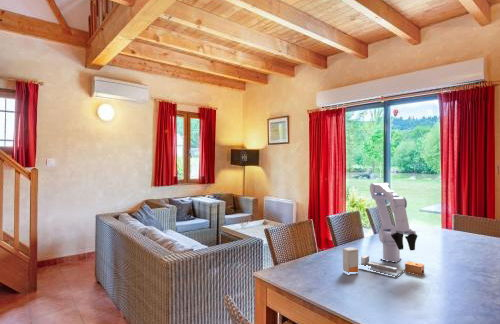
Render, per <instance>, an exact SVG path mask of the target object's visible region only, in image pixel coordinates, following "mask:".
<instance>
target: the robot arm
mask: <svg viewBox="0 0 500 324" xmlns="http://www.w3.org/2000/svg"><path fill="white" fill-rule="evenodd" d="M369 192H370V196H371V198H372V199H373V200H374V202H375V205H376V207H377V211H378V214H379V219H380V223H381V225H382V226H381V227H380V228H379V229H378V238H379V241H380V242H381V244H382V258H383V259H385V260H388V261H394V262H396V263H398V262H400V261H401V260H402V257H401V255H400V251H402V250H404V238H405V240H406V242H407V244H408V248H409V250H410V251H415V250H416V243H417V242H416V241H417V238H418V234H417V231H416V230H412V228H410V225H409V220H408V215H407V205H408V203H407V202H408V201H407V198H406V197H405V196H400V195H398V193H397V192H396V191H395V190H391V187H390V183H388V182H378V183H377V182H371V183H370V184H369ZM385 200H386V201H387V202H389V207H390V209H391V212H392V213H393V216H394V221H395V223H394V224H395V225H393V224H392V221H391V217H390V213H389V210H388V208H387V204H386V201H385ZM404 235H405V236H404ZM400 259H401V260H400ZM388 261H387V262H388ZM397 261H398V262H397Z"/></svg>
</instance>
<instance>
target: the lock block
mask: <svg viewBox="0 0 500 324" xmlns="http://www.w3.org/2000/svg"><path fill="white" fill-rule="evenodd" d="M404 269H405V271H406V272H405V271H404V272H405V273H407V272H410V273H409V274H411V273H414V274H413V275H415V274H418V275H417V276H420V275H422V276H423V274H425V264H424V263H420V262H419V263H418V262H414V261H406V262H405V263H404Z"/></svg>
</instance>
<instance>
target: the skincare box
mask: <svg viewBox="0 0 500 324" xmlns="http://www.w3.org/2000/svg"><path fill="white" fill-rule="evenodd" d="M358 265H359V249H358V248H356V247H351V246H350V247H345V248H344V247H343V248H342V271H343V270H344V271H346V272H348V273H349V272H358V273H359V269H358Z"/></svg>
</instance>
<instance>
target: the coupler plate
mask: <svg viewBox="0 0 500 324" xmlns="http://www.w3.org/2000/svg"><path fill="white" fill-rule="evenodd" d="M369 261H370V255H368V254H364V255H363V256H361V258H360V264H361V265H364V266H366V265H368V266H371V268H370V270H373V271H376V272H380V273H384V274H388V275H392V276H395V277H397V276H398V275H399V274H401V273H402V272H403V271H404V272H405V268H402V267H398V266H393V265H389V264H388V265H387V264H384V263H379V262H374V261H371V262H369ZM368 269H369V268H368ZM404 272H403V273H404ZM403 273H402V274H403ZM402 274H401V275H402ZM398 277H399V276H398ZM398 277H397V278H398Z"/></svg>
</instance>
